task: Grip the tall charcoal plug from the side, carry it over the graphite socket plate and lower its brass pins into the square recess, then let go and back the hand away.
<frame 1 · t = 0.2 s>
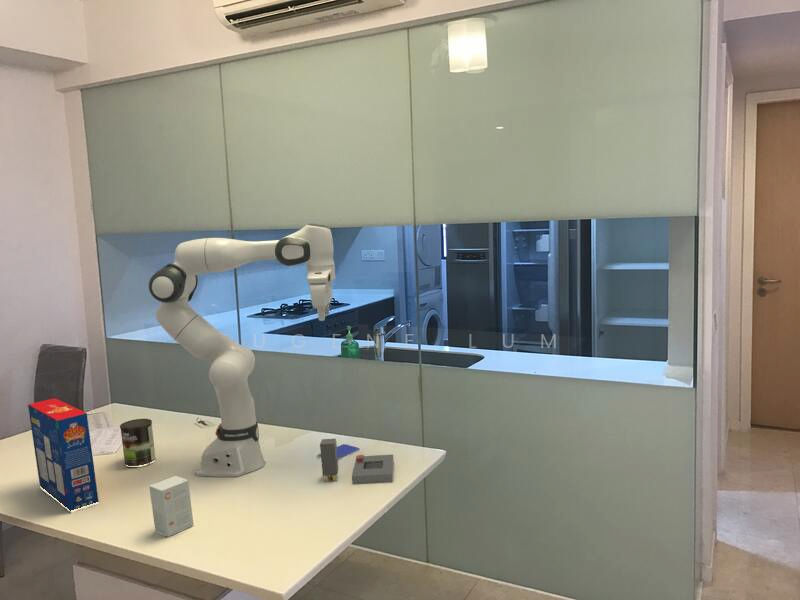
hand: (324, 317, 217), 48 cm above the table, tool pointing down, fingers open, 8 cm apart
socket plate: (373, 472, 212), on the table
small box: (174, 529, 182), on the table
plug: (331, 478, 209), on the table
hard drive: (338, 456, 230), on the table
blue cereal box: (68, 496, 209), on the table
coffee can: (140, 462, 235), on the table
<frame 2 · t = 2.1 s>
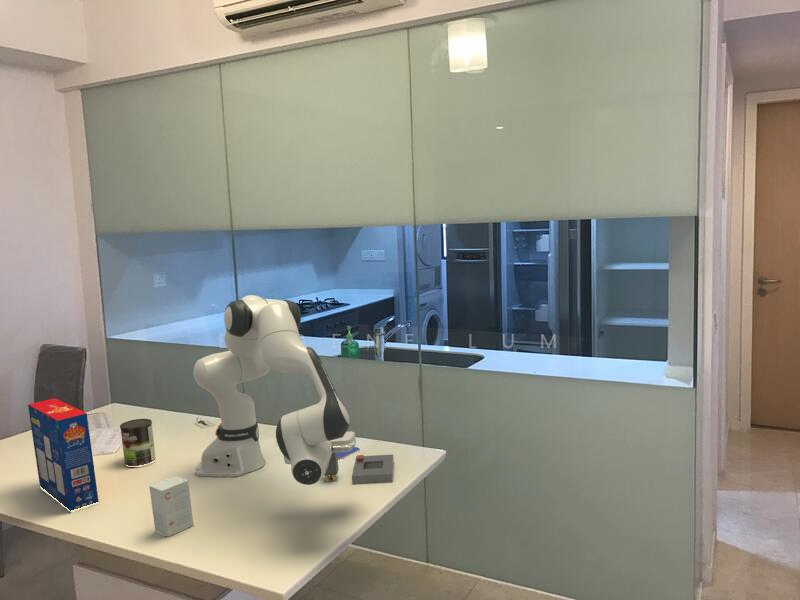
hand: (321, 433, 195), 19 cm above the table, tool horizontal, fingers open, 8 cm apart
nothing on the table moved.
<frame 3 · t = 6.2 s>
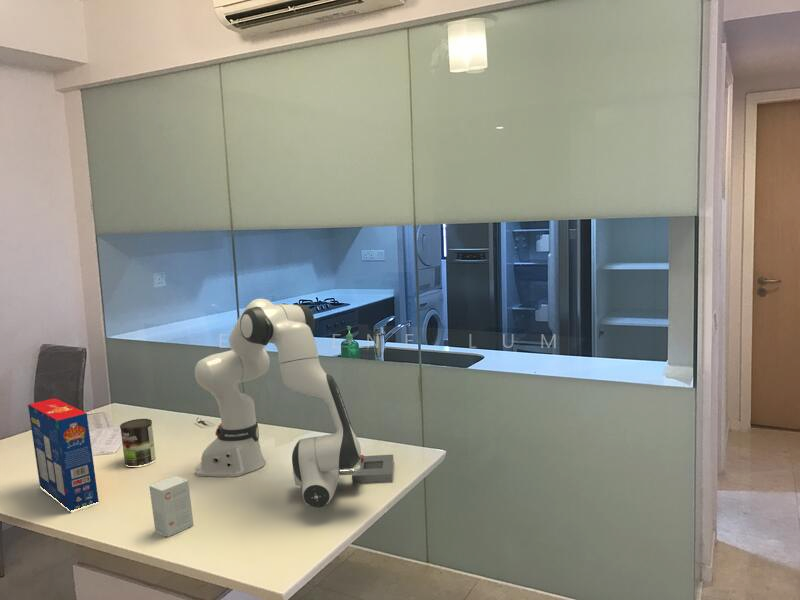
hand: (329, 455, 209), 7 cm above the table, tool horizontal, fingers closed on plug, 4 cm apart
plug: (331, 478, 209), on the table, touching gripper
everything else where it was.
when the fingers open (8 cm above the table, at t = 11.3 s): plug drops 1 cm, resting in socket plate.
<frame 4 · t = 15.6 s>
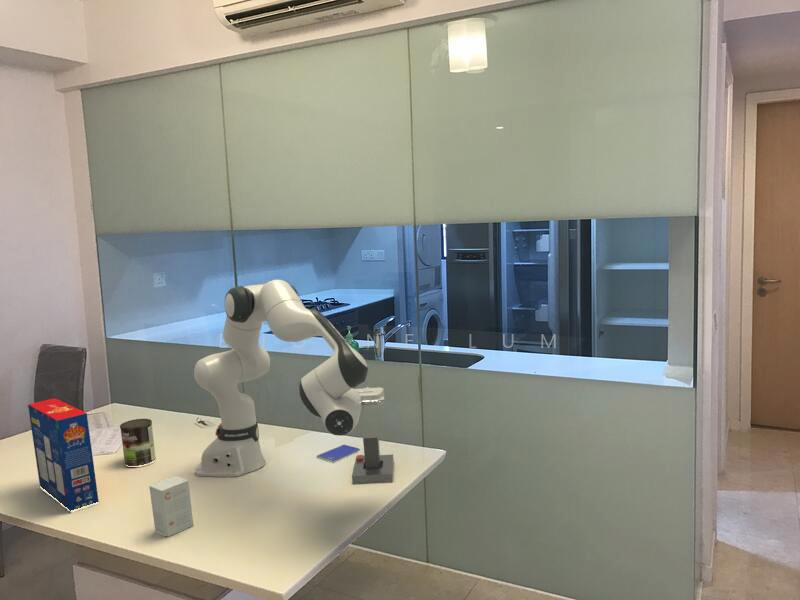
hand: (350, 390, 196), 30 cm above the table, tool horizontal, fingers open, 8 cm apart
plug: (373, 472, 212), resting in socket plate
everything else where it was.
at the end: plug 0.1 cm off-centre on the socket plate, point 0.0 cm above the socket plate's base; plug tilted 0°; the gripper is holding nothing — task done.
